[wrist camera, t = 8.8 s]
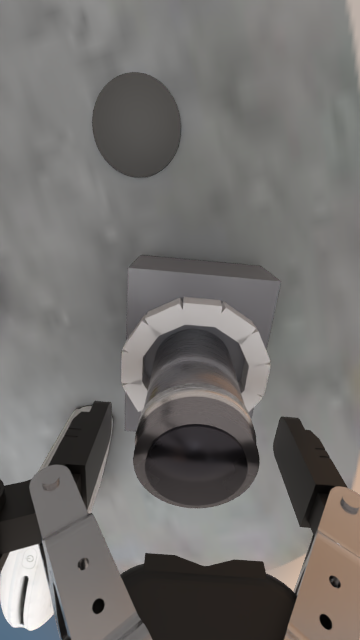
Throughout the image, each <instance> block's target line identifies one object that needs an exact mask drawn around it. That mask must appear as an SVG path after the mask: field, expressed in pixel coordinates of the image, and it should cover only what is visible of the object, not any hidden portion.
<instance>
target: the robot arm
mask: <svg viewBox="0 0 360 640" xmlns="http://www.w3.org/2000/svg"><path fill="white" fill-rule="evenodd" d="M111 429H112V406H111V402H101V401H95V402H94V403H93V405H92V407H91V410H90V412H83V411H81V412H80V413H79V414H78V415H77V416H76V417H74V418H73V420H72V422H71V423H70V425H69V427H68V429H67V431H66V433H65V435H64V437H63V439H62V440H61V442H60V444H59V446H58V448H57V450H56V452H55V454H54V455H53V457H52V459H51V461H50V463H49V465H48V466H47V467H45V468H43V469H41V470H40V471H39V472H37V473H36V474H35V475H34V477H33V478H32V479H31V480H28V481H25V482H21V483H16V484H11V485H6V486H4V484H3V482H2V481H1V480H0V573H1V571H2V568H3V566H4V564H5V562H6V560H7V557H8V555H9V553H10V552H11V551H15V550H19V549H22V548H26V547H30V546H33V545H37V544H38V546H39V550H40V554H41V559H42V563H43V567H44V571H45V575H46V579H47V583H48V587H49V591H50V595H51V600H52V605H53V610H54V615H55V619H56V623H57V627H58V632H59V635H60V640H359V639H360V495H359V494H358V493H356V492H355V491H353V490H351V489H349V488H347V486H346V484H345V483H344V481H343V479H342V477H341V476H340V474H339V472H338V470H337V469H336V467H335V465H334V464H333V462H332V460H331V459H330V458H329V455H328V453H327V452H326V451H325V448H324V446H323V445H322V443H321V441H320V439H319V438H318V437H317V436H315V435H314V434H313V433H312V432H311V431H310V430H305V429H304V427H303V425H302V423H301V421H300V420H299V419H298V418H292V417H281V418H280V420H279V423H278V427H277V431H276V435H275V438H274V443H273V450H274V456H275V459H276V461H277V464H278V467H279V470H280V472H281V475H282V478H283V481H284V483H285V486H286V489H287V492H288V495H289V497H290V500H291V503H292V506H293V508H294V511H295V514H296V517H297V519H298V522H299V525H300V527H308V528H311V530H312V532H313V536H312V539H311V542H310V545H309V548H308V551H307V554H306V557H305V560H304V563H303V566H302V569H301V572H300V575H299V578H298V581H297V584H296V586H295V589H294V592H293V591H292V590H291V589H290V588H288V587H287V586H286V585H285V584H284V583H282V582H281V581H279V580H278V579H276V578H275V577H273V576H271V575H268V574H266V572H265V568H264V563H263V562H260V561H247V560H231V561H227V562H223V563H219V564H215V565H211V566H201V565H199V564H196V563H194V562H191V561H188V560H186V559H183V558H180V557H178V556H175V555H164V554H150V553H145V562H144V564H141V565H138V566H135V567H133V568H130V569H129V570H127V571H125V572H123V573H122V574H121V575H120V573H119V571H118V569H117V566H116V564H115V562H114V560H113V557H112V555H111V553H110V551H109V548H108V546H107V544H106V541H105V539H104V537H103V535H102V532H101V530H100V528H99V526H98V523H97V521H96V519H95V517H94V515H93V514H92V513H90V514H89V513H88V511H87V510H88V507H89V504H90V501H91V497H92V494H93V491H94V488H95V485H96V482H97V479H98V476H99V473H100V470H101V466H102V463H103V460H104V457H105V454H106V451H107V448H108V445H109V441H110V437H111Z"/></svg>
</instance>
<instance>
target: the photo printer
mask: <svg viewBox="0 0 360 640" xmlns="http://www.w3.org/2000/svg"><path fill="white" fill-rule="evenodd" d="M91 407H92V406H85V407H82V408H81V409H75V411H74V412H73V413H72V414H71V416H70V418H69V419H68V421H67V423H66V425H65V426H64V428H63V430H62V431H61V433H60V435H59V437H58V438H57V440H56V442H55V443H54V445H53V447H52V449H51V450H50V452H49V454H48V456H47V457H46V459H45V461H44V462H43V464H42V466H41V468H40V469H39V471H40V470H41V469H43V468H45V467H47V466H48V465H49V463H50V461H51V459H52V457H53V455H54V454H55V452H56V450H57V448H58V446H59V444H60V442H61V440H62V439H63V437H64V435H65V433H66V431H67V429H68V427H69V425H70V423H71V422H72V420H73V418H74V417H76V416H77V415H78V414H79V413H80V412H81V411H83V412H90V410H91ZM112 429H113V418H112ZM112 429H111V435H112ZM110 441H111V437H110ZM110 441H109V445H108V448H107V451H106V454H105V457H104V460H103V463H102V466H101V470H100V473H99V476H98V479H97V482H96V485H95V488H94V491H93V494H92V497H91V501H90V504H89V507H88V510H87V511H88V513H89V514H90V513H91V511H92V508H93V505H94V502H95V499H96V496H97V493H98V490H99V488H100V483H101V480H102V476H103V472H104V468H105V464H106V460H107V455H108V451H109V446H110ZM39 471H38V472H39ZM0 600H1V607H2V611H3V614H4V616H5V618H6V620H7V621H8V623H9V624H10V625H11V626H12V627H15V628H16V627H24V628H26V629H27V630H29V631H31V630H35V629H37V628H38V627H40V626H42V625H43V624H44V623H45V622H46V621H48V620H49V619H50V617H51V616H52V615H53V614H54V610H53V605H52V600H51V595H50V591H49V587H48V583H47V579H46V575H45V571H44V567H43V563H42V559H41V554H40V550H39V546H38V544H37V545H33V546H30V547H26V548H22V549H19V550H15V551H11V552H10V553H9V555H8V557H7V560H6V562H5V564H4V566H3V568H2V571H1V578H0Z"/></svg>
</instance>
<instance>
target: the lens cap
mask: <svg viewBox="0 0 360 640" xmlns="http://www.w3.org/2000/svg"><path fill="white" fill-rule="evenodd" d="M92 126H93V134H94V138H95V142H96V144H97V147H98V149H99V151H100V153H101V154H102V156H103V157H104V159H105V160H106V161H107V162H108V163H109V164H110V165H111V166H112V167H113V168H115V169H116V170H118V171H119V172H121V173H123V174H125V175H128V176H132V177H148V176H151V175H154V174H156V173H158V172H160V171H161V170H163V169H164V168H165V167H166V166H167V165H168V164H169V163H170V161H171V160H172V159H173V157H174V155H175V153H176V151H177V148H178V146H179V142H180V135H181V122H180V115H179V111H178V108H177V104H176V102H175V100H174V98H173V96H172V95H171V93H170V92H169V90H168V89H167V88H166V87H165V86H164V85H163V84H162V83H161V82H160V81H158V80H157V79H155V78H154V77H152V76H150V75H147V74H144V73H138V72H131V73H125V74H122V75H119V76H117V77H116V78H114V79H112V80H111V81H110V82H109V83H108V84H107V85H106V86H105V87H104V88H103V89H102V91H101V92H100V94H99V96H98V98H97V100H96V103H95V106H94V110H93V117H92Z"/></svg>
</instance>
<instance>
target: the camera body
mask: <svg viewBox="0 0 360 640" xmlns="http://www.w3.org/2000/svg"><path fill="white" fill-rule="evenodd" d="M280 285H281V281H280V280H279V279H277V278H276V277H275V276H273V275H272V274H271V273H269V272H268V271H267V270H266V269H264V268H263V267H262V266H256V265H245V264H234V263H223V262H212V261H201V260H190V259H178V258H167V257H156V256H145V255H140V256H139V257H138V258H137V259H136V260H135V261H134V262H133V263H132V264H131V265H130V266H129V267H128V286H127V337H126V343H125V345H124V347H123V350H122V359H121V383H123V385H122V387H123V388H124V390H125V431H137V426H138V422H139V418H140V415H141V413H142V411H143V409H144V405H145V401H146V396H147V392H148V387H149V383H150V378H151V373H152V369H153V364H154V360H155V356H156V352H157V350H158V348H159V346H160V345H161V343H162V342H163V341H164V340H165V339H166V338H167V337H168V336H170V335H171V334H173V333H175V332H178V331H181V330H185V329H201V330H205V331H208V332H210V333H212V334H214V335H216V336H217V337H218V338H220V339H221V340H222V341H223V343H224V344H225V345H226V347H227V349H228V351H229V354H230V357H231V360H232V364H233V367H234V371H235V374H236V377H237V381H238V384H239V388H240V391H241V394H242V398H243V401H244V405H245V407H246V409H247V411H248V412H249V415H250V417H251V419H252V414H253V410H254V406H255V405H256V404H257V403H258V402H259V401H260V400H261V399H262V396H261V395H264V394H265V389H266V385H267V381H268V376H269V372H270V367H271V364H270V362H271V361H270V359H269V356H268V354H267V351H266V350H267V345H268V340H269V336H270V331H271V327H272V322H273V317H274V313H275V308H276V304H277V299H278V294H279V290H280Z"/></svg>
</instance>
